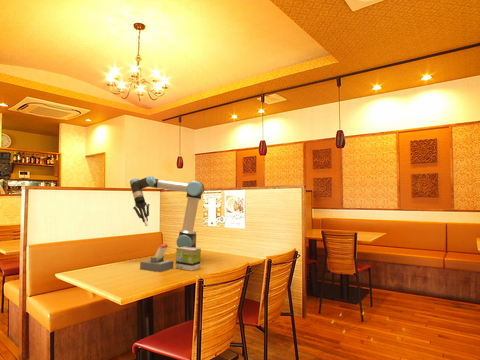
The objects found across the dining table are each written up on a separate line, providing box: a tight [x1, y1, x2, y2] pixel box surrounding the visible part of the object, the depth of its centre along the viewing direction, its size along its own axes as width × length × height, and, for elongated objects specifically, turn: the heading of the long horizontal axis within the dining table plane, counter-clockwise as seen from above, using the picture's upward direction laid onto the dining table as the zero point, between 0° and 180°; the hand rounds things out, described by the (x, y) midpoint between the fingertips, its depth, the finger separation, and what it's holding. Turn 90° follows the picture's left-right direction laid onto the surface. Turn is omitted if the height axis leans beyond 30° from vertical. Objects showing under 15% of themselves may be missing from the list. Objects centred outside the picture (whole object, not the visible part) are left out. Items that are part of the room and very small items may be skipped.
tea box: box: [175, 246, 202, 272], centre depth 219 cm, size 15×10×15 cm, turn 62°
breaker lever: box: [153, 243, 168, 261], centre depth 216 cm, size 3×6×13 cm, turn 154°
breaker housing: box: [139, 255, 174, 273], centre depth 217 cm, size 18×14×8 cm
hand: (146, 225), depth 236 cm, fingers closed
